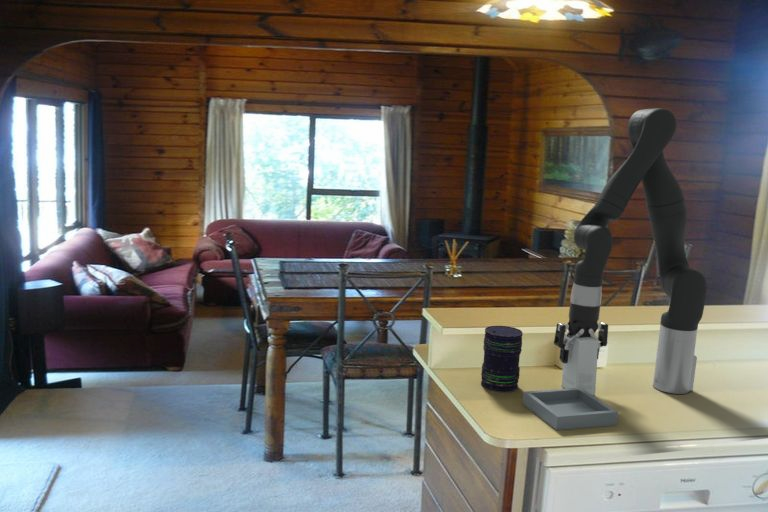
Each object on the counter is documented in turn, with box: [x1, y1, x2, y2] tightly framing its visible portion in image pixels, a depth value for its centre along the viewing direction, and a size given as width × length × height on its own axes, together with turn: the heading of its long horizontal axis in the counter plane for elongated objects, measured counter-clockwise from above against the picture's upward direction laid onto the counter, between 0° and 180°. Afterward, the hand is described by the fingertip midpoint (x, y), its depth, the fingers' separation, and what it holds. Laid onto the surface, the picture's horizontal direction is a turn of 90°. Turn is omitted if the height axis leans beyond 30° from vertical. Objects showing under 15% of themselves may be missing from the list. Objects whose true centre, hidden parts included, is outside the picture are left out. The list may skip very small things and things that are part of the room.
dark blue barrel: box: [480, 325, 524, 393], centre depth 194 cm, size 10×10×15 cm
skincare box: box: [561, 332, 599, 397], centre depth 193 cm, size 8×6×15 cm
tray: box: [522, 388, 619, 431], centre depth 177 cm, size 16×16×3 cm
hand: (578, 362), depth 193 cm, fingers open, 8 cm apart
